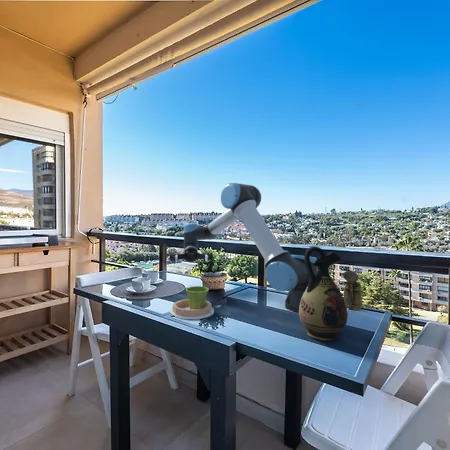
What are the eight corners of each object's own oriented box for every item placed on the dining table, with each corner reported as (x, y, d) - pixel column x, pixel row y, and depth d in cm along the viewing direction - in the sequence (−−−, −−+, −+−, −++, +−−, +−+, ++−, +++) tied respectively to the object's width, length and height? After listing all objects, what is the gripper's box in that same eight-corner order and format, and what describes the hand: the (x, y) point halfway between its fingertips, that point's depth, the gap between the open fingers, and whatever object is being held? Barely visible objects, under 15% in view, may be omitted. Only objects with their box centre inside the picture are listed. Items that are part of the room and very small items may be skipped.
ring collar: (222, 310, 123) (222, 302, 123) (196, 322, 108) (196, 314, 107) (189, 302, 132) (189, 295, 132) (160, 313, 117) (160, 305, 117)
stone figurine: (337, 310, 125) (338, 268, 125) (343, 302, 136) (344, 264, 136) (359, 314, 120) (361, 271, 120) (364, 306, 132) (365, 266, 131)
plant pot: (205, 314, 115) (205, 292, 115) (182, 312, 117) (182, 291, 117) (210, 307, 125) (210, 286, 124) (189, 305, 126) (189, 285, 126)
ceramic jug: (335, 326, 106) (337, 245, 105) (355, 345, 91) (358, 250, 90) (288, 326, 106) (290, 244, 105) (301, 345, 90) (303, 249, 89)
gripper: (214, 260, 152) (219, 267, 131) (166, 261, 149) (163, 268, 128) (214, 246, 152) (219, 250, 131) (166, 246, 149) (163, 251, 128)
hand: (191, 259), depth 129 cm, fingers open, 13 cm apart
